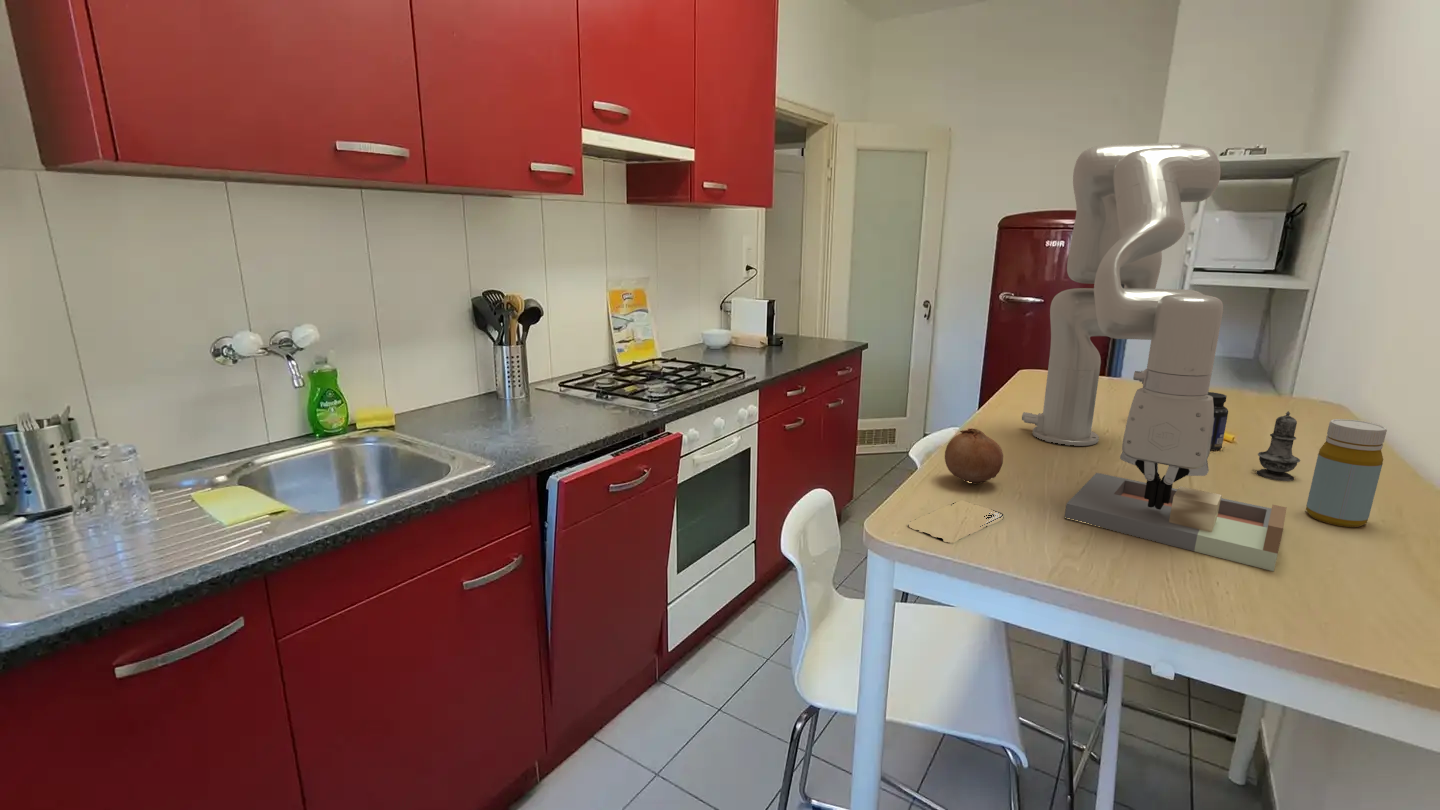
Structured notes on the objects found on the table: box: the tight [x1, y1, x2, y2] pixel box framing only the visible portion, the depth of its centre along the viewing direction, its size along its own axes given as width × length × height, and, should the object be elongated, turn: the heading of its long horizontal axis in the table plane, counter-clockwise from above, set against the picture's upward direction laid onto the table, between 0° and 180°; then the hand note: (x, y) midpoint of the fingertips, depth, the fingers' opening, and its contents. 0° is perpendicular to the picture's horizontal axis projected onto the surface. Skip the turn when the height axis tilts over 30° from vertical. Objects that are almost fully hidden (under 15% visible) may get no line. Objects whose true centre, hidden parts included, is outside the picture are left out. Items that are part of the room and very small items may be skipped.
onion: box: [944, 428, 1004, 484], centre depth 115 cm, size 10×9×10 cm
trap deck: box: [1064, 472, 1287, 572], centre depth 99 cm, size 25×18×6 cm
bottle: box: [1305, 418, 1388, 528], centre depth 99 cm, size 7×7×15 cm
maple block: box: [1169, 485, 1222, 532], centre depth 94 cm, size 5×5×4 cm
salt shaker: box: [1255, 410, 1301, 482], centre depth 118 cm, size 6×6×12 cm
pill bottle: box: [1208, 391, 1229, 451], centre depth 134 cm, size 6×6×11 cm
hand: (1155, 505), depth 97 cm, fingers closed
